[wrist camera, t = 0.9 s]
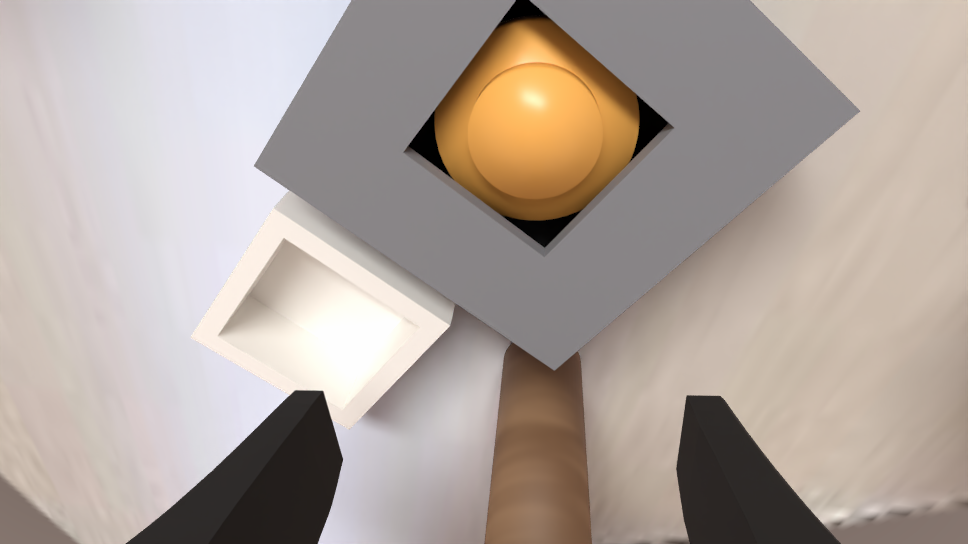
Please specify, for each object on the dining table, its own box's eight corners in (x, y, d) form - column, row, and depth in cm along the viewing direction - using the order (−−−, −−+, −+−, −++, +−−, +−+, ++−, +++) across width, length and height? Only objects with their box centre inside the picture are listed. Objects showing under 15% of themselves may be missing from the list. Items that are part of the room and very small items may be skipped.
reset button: (678, 105, 15) (688, 123, 14) (545, 239, 17) (545, 264, 16) (522, -34, 14) (520, -27, 12) (403, 132, 16) (390, 150, 15)
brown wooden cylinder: (597, 361, 23) (619, 588, 15) (545, 403, 24) (543, 630, 17) (537, 319, 22) (529, 537, 15) (488, 365, 24) (458, 585, 16)
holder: (462, 275, 22) (450, 325, 19) (370, 374, 25) (349, 429, 22) (309, 168, 20) (273, 208, 17) (230, 288, 23) (190, 337, 20)
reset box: (790, 63, 17) (860, 110, 13) (553, 287, 21) (554, 370, 18) (513, -211, 14) (500, -251, 10) (313, 111, 19) (253, 166, 15)
